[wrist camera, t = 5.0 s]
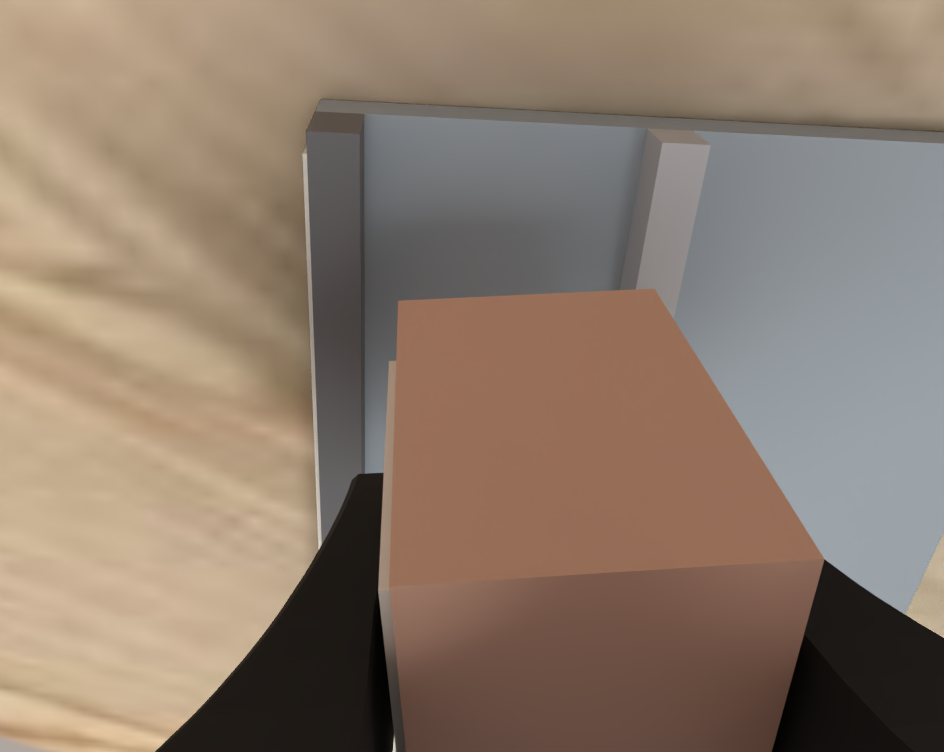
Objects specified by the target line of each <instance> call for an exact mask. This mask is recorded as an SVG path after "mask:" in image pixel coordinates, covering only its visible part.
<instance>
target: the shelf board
mask: <svg viewBox="0 0 944 752" xmlns="http://www.w3.org/2000/svg"><path fill="white" fill-rule="evenodd" d="M306 143H307V144H306V146H305V149H304V151H303V153H302V154H303V179H304V204H305V228H306V253H307V277H308V302H309V326H310V351H311V375H312V400H313V425H314V449H315V474H316V498H317V523H318V547H319V549H320V547H321V545H322V543H323V542H324V540H325V538H326V536H327V535H328V533H329V531H330V529H331V527H332V525H333V523H334V521H335V519H336V517H337V515H338V513H339V511H340V508H341V506H342V504H343V502H344V499H345V497H346V495H347V492H348V490H349V487H350V484H351V481H352V479H353V478H355V477H356V476H357V475H358V474H365V473H384V456H385V435H386V414H387V393H388V372H389V361H396V352H397V321H398V301H402V300H424V299H445V298H466V297H487V296H508V295H529V294H550V293H572V292H593V291H614V290H635V289H655V290H656V292H657V293H658V295H659V297H660V298H661V300H662V301H663V303H664V304H665V306H666V308H667V309H668V311H669V312H670V314H671V316H672V317H673V319H674V320H675V322H676V324H677V325H678V327H679V328H680V330H681V331H682V333H683V335H684V336H685V338H686V339H687V341H688V343H689V344H690V346H691V347H692V349H693V351H694V352H695V354H696V355H697V357H698V359H699V360H700V362H701V363H702V365H703V366H704V368H705V370H706V371H707V373H708V374H709V376H710V378H711V379H712V381H713V382H714V384H715V386H716V387H717V389H718V390H719V392H720V394H721V395H722V397H723V398H724V400H725V401H726V403H727V405H728V406H729V408H730V409H731V411H732V413H733V414H734V416H735V417H736V419H737V421H738V422H739V424H740V425H741V427H742V429H743V430H744V432H745V433H746V435H747V436H748V438H749V440H750V441H751V443H752V444H753V446H754V448H755V449H756V451H757V452H758V454H759V456H760V457H761V459H762V460H763V462H764V464H765V465H766V467H767V468H768V470H769V471H770V473H771V475H772V476H773V478H774V479H775V481H776V483H777V484H778V486H779V487H780V489H781V491H782V492H783V494H784V495H785V497H786V499H787V500H788V502H789V503H790V505H791V506H792V508H793V510H794V511H795V513H796V514H797V516H798V518H799V519H800V521H801V522H802V524H803V526H804V527H805V529H806V530H807V532H808V534H809V535H810V537H811V538H812V540H813V541H814V543H815V545H816V546H817V548H818V549H819V551H820V553H821V554H822V556H823V557H824V559H825V560H826V561H828V562H829V563H830V564H832V565H833V566H834V567H836V568H837V569H838V570H840V571H841V572H843V573H844V574H845V575H847V576H848V577H849V578H851V579H852V580H853V581H855V582H856V583H858V584H859V585H860V586H862V587H863V588H865V589H866V590H868V591H869V592H871V593H872V594H874V595H875V596H877V597H878V598H880V599H881V600H883V601H884V602H886V603H888V604H889V605H891V606H892V607H894V608H895V609H897V610H899V611H900V612H902V613H903V614H905V613H906V611H907V609H908V607H909V605H910V603H911V600H912V598H913V596H914V594H915V592H916V590H917V588H918V586H919V583H920V581H921V579H922V577H923V575H924V573H925V571H926V569H927V566H928V564H929V562H930V560H931V558H932V556H933V554H934V551H935V549H936V547H937V545H938V543H939V541H940V539H941V537H942V534H943V532H944V132H932V131H913V130H894V129H875V128H856V127H837V126H818V125H799V124H781V123H762V122H743V121H724V120H705V119H686V118H667V117H648V116H629V115H610V114H591V113H573V112H554V111H535V110H516V109H497V108H478V107H459V106H440V105H421V104H402V103H383V102H365V101H346V100H327V99H321V100H320V102H319V104H318V106H317V108H316V111H315V113H314V115H313V117H312V119H311V122H310V124H309V126H308V128H307V130H306Z"/></svg>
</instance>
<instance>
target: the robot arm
mask: <svg viewBox="0 0 944 752" xmlns="http://www.w3.org/2000/svg"><path fill="white" fill-rule="evenodd" d="M383 478H384V473H365V474H358V475H357V476H356V477H355V478H353V479H352V481H351V484H350V487H349V490H348V492H347V495H346V497H345V499H344V502H343V504H342V506H341V508H340V511H339V513H338V515H337V517H336V519H335V521H334V523H333V525H332V527H331V529H330V531H329V533H328V535H327V536H326V538H325V540H324V542H323V543H322V545H321V547H320V549H319V551H318V552H317V554H316V556H315V558H314V559H313V561H312V563H311V565H310V566H309V568H308V570H307V571H306V573H305V575H304V576H303V578H302V579H301V581H300V582H299V584H298V585H297V587H296V588H295V590H294V591H293V593H292V594H291V596H290V597H289V599H288V600H287V602H286V604H285V605H284V607H283V608H282V609H281V611H280V612H279V614H278V615H277V617H276V618H275V619H274V621H273V622H272V623H271V625H270V626H269V628H268V629H267V630H266V631H265V633H264V634H263V635H262V637H261V638H260V639H259V641H258V642H257V643H256V644H255V646H254V647H253V648H252V649H251V651H250V652H249V653H248V654H247V656H246V657H245V658H244V659H243V661H242V662H241V663H240V664H239V665H238V666H237V667H236V669H235V670H234V671H233V672H232V673H231V674H230V675H229V677H228V678H227V679H226V680H225V681H224V682H223V683H222V685H221V686H220V687H219V688H218V689H217V690H216V691H215V693H214V694H213V695H212V696H211V697H210V698H209V699H208V700H207V701H206V702H205V703H204V704H203V705H202V706H201V708H200V709H199V710H198V711H197V712H196V713H195V714H194V715H193V716H192V717H191V718H190V719H189V720H188V721H187V722H186V723H185V724H183V725H182V726H181V727H180V728H179V729H178V730H177V731H176V732H175V733H174V734H173V735H172V736H171V737H170V738H169V739H168V740H167V741H166V742H165V743H164V744H163V745H162V746H161V747H160V748H158V749H157V750H156V751H155V752H393V743H394V728H393V719H392V710H391V701H390V692H389V683H388V674H387V666H386V657H385V648H384V639H383V630H382V621H381V612H380V603H379V594H378V583H379V562H380V541H381V520H382V499H383ZM772 752H944V638H943V637H941V636H939V635H938V634H936V633H934V632H933V631H931V630H929V629H927V628H926V627H924V626H922V625H921V624H919V623H917V622H916V621H914V620H913V619H911V618H909V617H908V616H906V615H905V614H903V613H902V612H900V611H899V610H897V609H895V608H894V607H892V606H891V605H889V604H888V603H886V602H884V601H883V600H881V599H880V598H878V597H877V596H875V595H874V594H872V593H871V592H869V591H868V590H866V589H865V588H863V587H862V586H860V585H859V584H858V583H856V582H855V581H853V580H852V579H851V578H849V577H848V576H847V575H845V574H844V573H843V572H841V571H840V570H838V569H837V568H836V567H834V566H833V565H832V564H830V563H829V562H828V561H826V560H825V559H824V563H823V567H822V570H821V574H820V577H819V581H818V585H817V588H816V592H815V596H814V599H813V603H812V607H811V610H810V614H809V618H808V621H807V625H806V629H805V632H804V636H803V640H802V643H801V647H800V651H799V654H798V658H797V661H796V665H795V669H794V672H793V676H792V680H791V683H790V687H789V691H788V694H787V698H786V702H785V705H784V709H783V713H782V716H781V720H780V724H779V727H778V731H777V735H776V738H775V742H774V746H773V749H772Z"/></svg>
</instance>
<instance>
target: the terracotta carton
mask: <svg viewBox="0 0 944 752" xmlns="http://www.w3.org/2000/svg"><path fill="white" fill-rule="evenodd" d="M823 563H824V557H823V556H822V554H821V553H820V551H819V549H818V548H817V546H816V545H815V543H814V541H813V540H812V538H811V537H810V535H809V534H808V532H807V530H806V529H805V527H804V526H803V524H802V522H801V521H800V519H799V518H798V516H797V514H796V513H795V511H794V510H793V508H792V506H791V505H790V503H789V502H788V500H787V499H786V497H785V495H784V494H783V492H782V491H781V489H780V487H779V486H778V484H777V483H776V481H775V479H774V478H773V476H772V475H771V473H770V471H769V470H768V468H767V467H766V465H765V464H764V462H763V460H762V459H761V457H760V456H759V454H758V452H757V451H756V449H755V448H754V446H753V444H752V443H751V441H750V440H749V438H748V436H747V435H746V433H745V432H744V430H743V429H742V427H741V425H740V424H739V422H738V421H737V419H736V417H735V416H734V414H733V413H732V411H731V409H730V408H729V406H728V405H727V403H726V401H725V400H724V398H723V397H722V395H721V394H720V392H719V390H718V389H717V387H716V386H715V384H714V382H713V381H712V379H711V378H710V376H709V374H708V373H707V371H706V370H705V368H704V366H703V365H702V363H701V362H700V360H699V359H698V357H697V355H696V354H695V352H694V351H693V349H692V347H691V346H690V344H689V343H688V341H687V339H686V338H685V336H684V335H683V333H682V331H681V330H680V328H679V327H678V325H677V324H676V322H675V320H674V319H673V317H672V316H671V314H670V312H669V311H668V309H667V308H666V306H665V304H664V303H663V301H662V300H661V298H660V297H659V295H658V293H657V292H656V290H655V289H635V290H614V291H593V292H572V293H550V294H529V295H508V296H487V297H466V298H445V299H424V300H402V301H398V321H397V352H396V361H389V372H388V393H387V414H386V435H385V456H384V478H383V499H382V520H381V541H380V562H379V583H378V594H379V603H380V612H381V621H382V630H383V639H384V648H385V657H386V666H387V674H388V683H389V692H390V701H391V710H392V719H393V728H394V737H395V746H396V752H772V749H773V746H774V742H775V738H776V735H777V731H778V727H779V724H780V720H781V716H782V713H783V709H784V705H785V702H786V698H787V694H788V691H789V687H790V683H791V680H792V676H793V672H794V669H795V665H796V661H797V658H798V654H799V651H800V647H801V643H802V640H803V636H804V632H805V629H806V625H807V621H808V618H809V614H810V610H811V607H812V603H813V599H814V596H815V592H816V588H817V585H818V581H819V577H820V574H821V570H822V567H823Z"/></svg>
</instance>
